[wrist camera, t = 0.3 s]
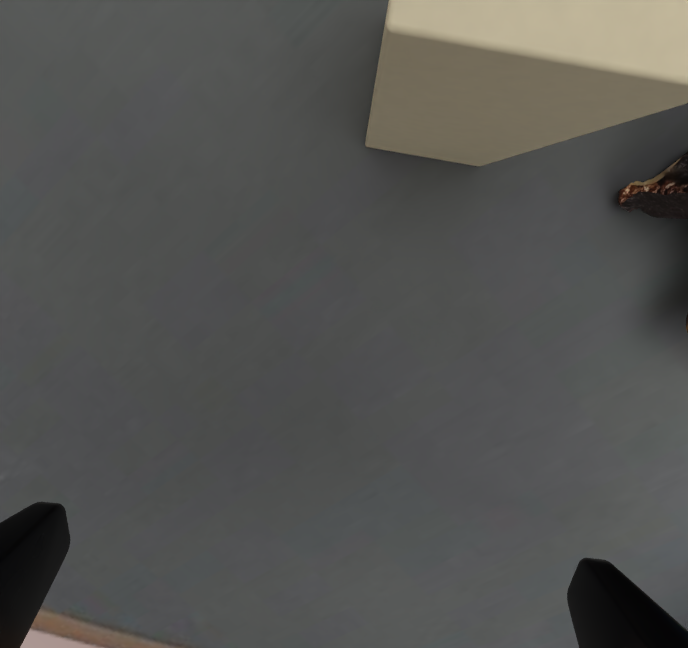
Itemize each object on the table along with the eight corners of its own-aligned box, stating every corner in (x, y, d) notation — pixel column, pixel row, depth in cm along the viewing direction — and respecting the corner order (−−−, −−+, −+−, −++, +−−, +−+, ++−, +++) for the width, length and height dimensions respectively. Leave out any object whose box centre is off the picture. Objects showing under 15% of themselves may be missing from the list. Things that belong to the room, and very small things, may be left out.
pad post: (480, 167, 17) (734, 92, 6) (364, 146, 17) (384, 28, 6) (511, 35, 16) (901, -386, 5) (386, 13, 16) (468, -476, 5)
